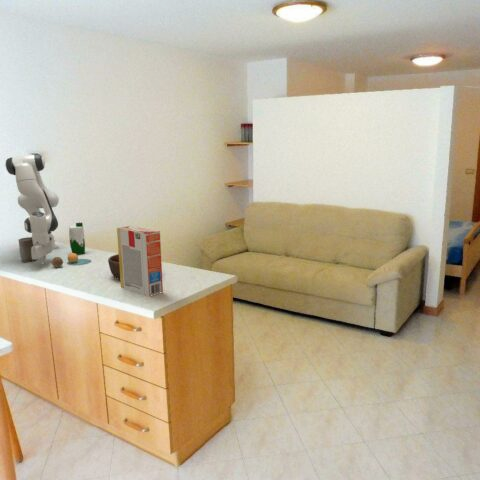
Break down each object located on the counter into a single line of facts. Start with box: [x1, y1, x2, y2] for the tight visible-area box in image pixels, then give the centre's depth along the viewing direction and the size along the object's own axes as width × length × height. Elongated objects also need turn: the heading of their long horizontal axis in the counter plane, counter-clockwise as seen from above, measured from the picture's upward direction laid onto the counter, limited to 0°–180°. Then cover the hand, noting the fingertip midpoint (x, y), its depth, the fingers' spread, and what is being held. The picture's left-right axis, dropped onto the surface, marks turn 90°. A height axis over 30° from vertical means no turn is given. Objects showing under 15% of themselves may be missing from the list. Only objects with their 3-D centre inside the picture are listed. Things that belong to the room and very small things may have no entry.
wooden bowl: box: [107, 253, 120, 280], centre depth 247 cm, size 25×25×10 cm
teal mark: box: [66, 258, 92, 266], centre depth 276 cm, size 14×14×1 cm
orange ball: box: [67, 252, 79, 263], centre depth 274 cm, size 6×6×6 cm
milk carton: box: [68, 222, 86, 256], centre depth 296 cm, size 9×9×20 cm
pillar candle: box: [18, 236, 36, 263], centre depth 281 cm, size 10×10×15 cm
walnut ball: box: [51, 256, 64, 268], centre depth 265 cm, size 6×6×6 cm
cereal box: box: [116, 225, 164, 297], centre depth 220 cm, size 23×8×30 cm, turn 48°
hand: (43, 263), depth 269 cm, fingers closed
